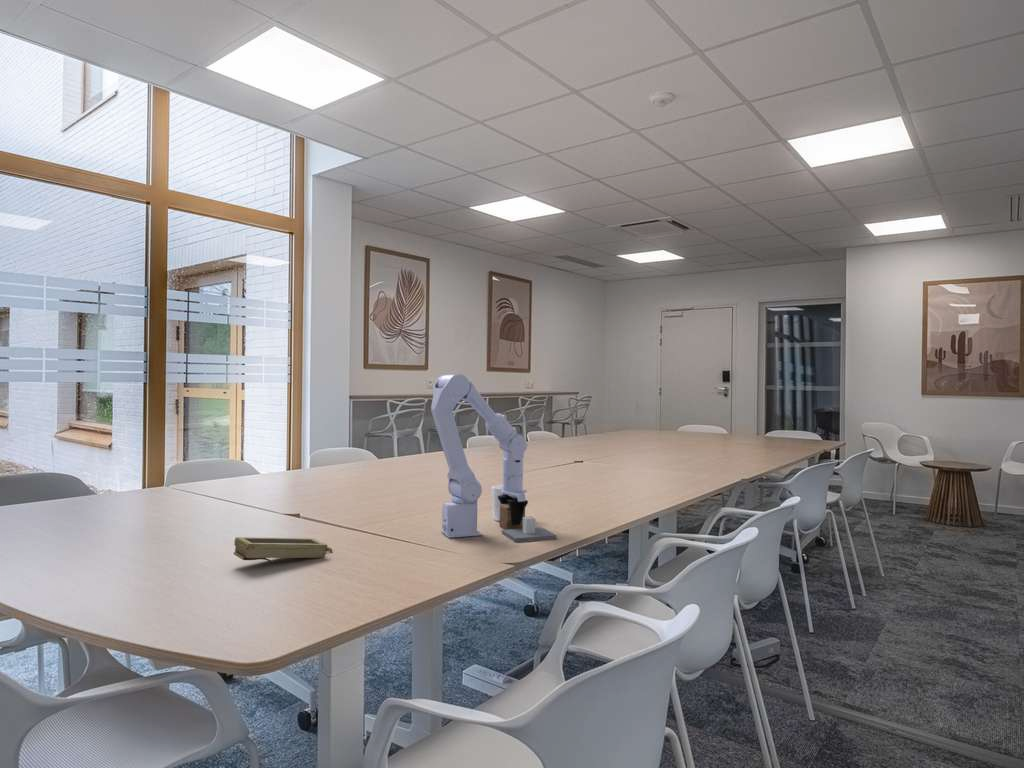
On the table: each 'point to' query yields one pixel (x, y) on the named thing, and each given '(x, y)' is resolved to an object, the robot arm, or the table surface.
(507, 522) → the sliding lid crate
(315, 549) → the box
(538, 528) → the post base
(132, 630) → the table surface
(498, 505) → the white cup
